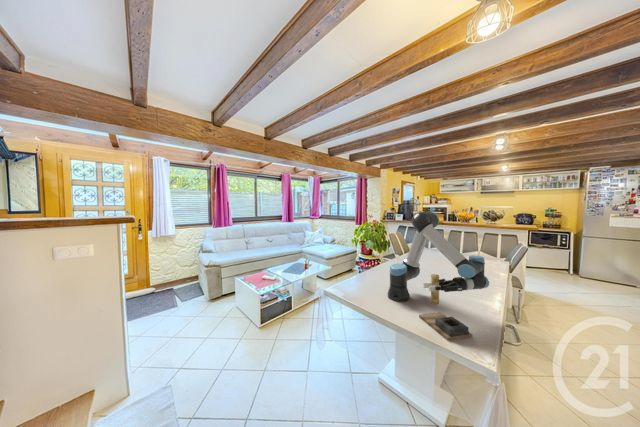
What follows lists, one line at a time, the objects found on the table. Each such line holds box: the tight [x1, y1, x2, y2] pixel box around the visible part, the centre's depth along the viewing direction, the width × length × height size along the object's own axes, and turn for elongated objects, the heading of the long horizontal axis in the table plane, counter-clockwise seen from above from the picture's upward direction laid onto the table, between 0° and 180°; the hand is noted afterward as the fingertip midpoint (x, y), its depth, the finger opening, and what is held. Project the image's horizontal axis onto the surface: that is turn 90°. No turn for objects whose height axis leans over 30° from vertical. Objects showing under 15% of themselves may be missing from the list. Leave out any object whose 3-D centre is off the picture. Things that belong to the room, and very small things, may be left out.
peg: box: [430, 273, 440, 305], centre depth 120 cm, size 4×4×16 cm
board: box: [418, 311, 473, 341], centre depth 114 cm, size 22×14×5 cm, turn 10°
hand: (426, 287), depth 119 cm, fingers closed on peg, 4 cm apart
